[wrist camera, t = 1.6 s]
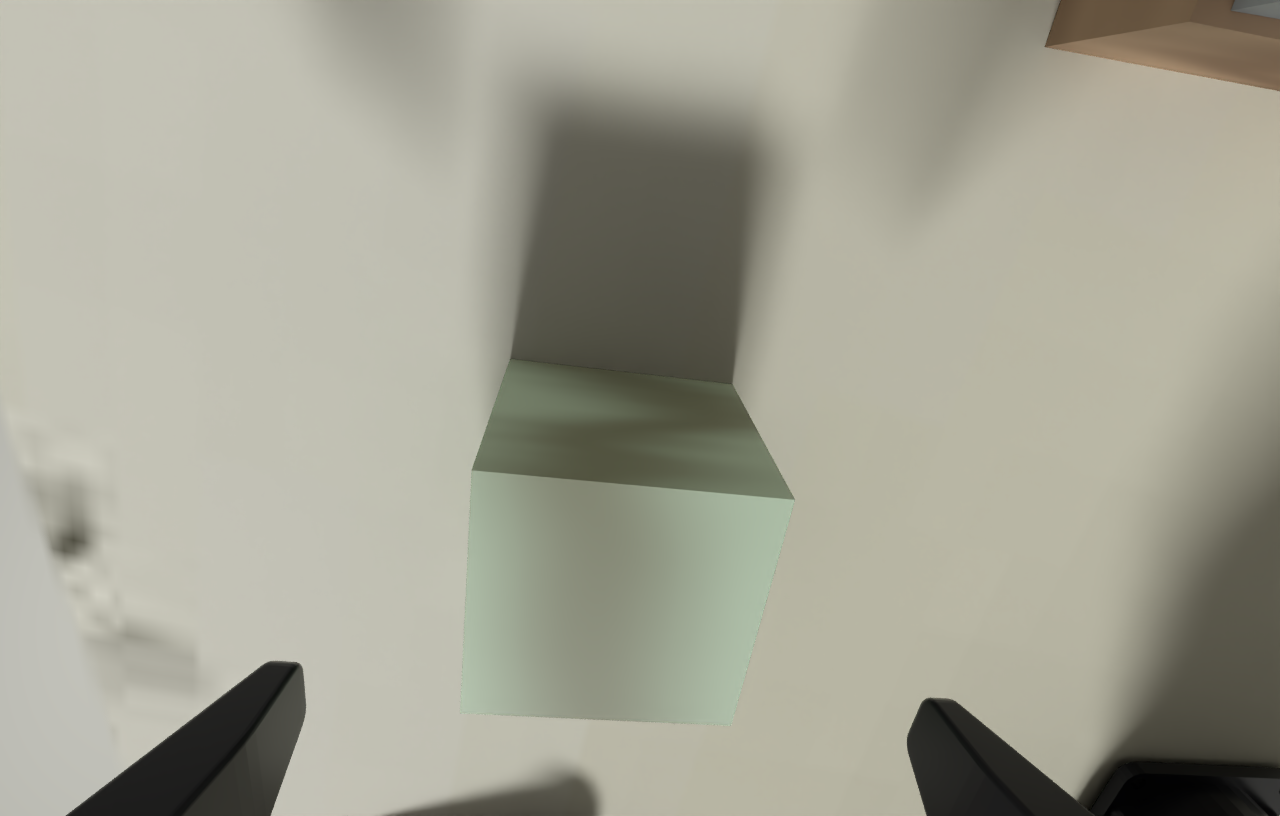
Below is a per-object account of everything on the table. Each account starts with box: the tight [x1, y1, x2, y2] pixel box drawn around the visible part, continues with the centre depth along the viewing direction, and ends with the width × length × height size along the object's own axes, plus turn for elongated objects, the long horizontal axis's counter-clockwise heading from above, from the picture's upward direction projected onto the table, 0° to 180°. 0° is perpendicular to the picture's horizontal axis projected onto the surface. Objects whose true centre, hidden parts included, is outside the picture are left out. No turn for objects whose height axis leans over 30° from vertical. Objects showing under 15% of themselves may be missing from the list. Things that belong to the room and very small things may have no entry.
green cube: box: [460, 359, 795, 726], centre depth 13 cm, size 5×5×5 cm
